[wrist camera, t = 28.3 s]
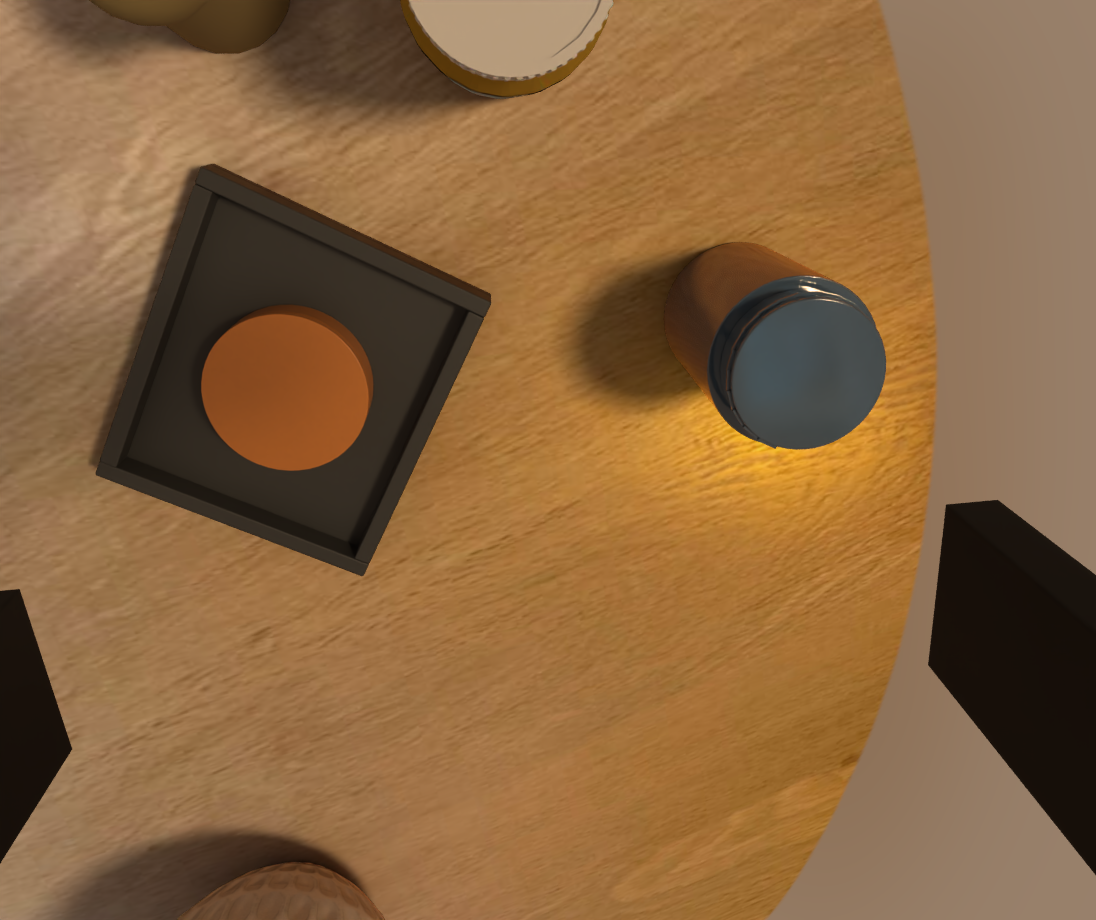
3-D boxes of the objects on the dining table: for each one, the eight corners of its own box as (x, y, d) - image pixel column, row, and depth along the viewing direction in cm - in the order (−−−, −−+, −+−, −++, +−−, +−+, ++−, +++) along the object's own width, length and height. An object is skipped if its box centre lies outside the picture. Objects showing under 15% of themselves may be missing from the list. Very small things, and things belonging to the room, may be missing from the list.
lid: (339, 479, 45) (332, 495, 43) (191, 419, 44) (178, 434, 42) (397, 345, 43) (394, 356, 41) (244, 277, 41) (232, 285, 39)
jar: (708, 216, 42) (779, 251, 32) (830, 280, 44) (935, 333, 34) (638, 347, 44) (685, 419, 34) (757, 404, 46) (835, 488, 36)
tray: (213, 162, 40) (200, 166, 38) (491, 293, 43) (491, 302, 41) (110, 459, 44) (94, 475, 43) (367, 558, 48) (362, 577, 46)
